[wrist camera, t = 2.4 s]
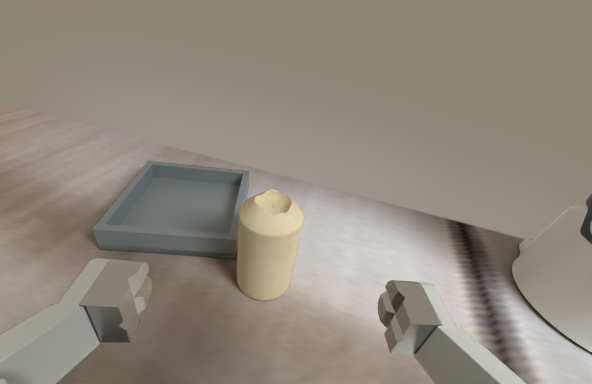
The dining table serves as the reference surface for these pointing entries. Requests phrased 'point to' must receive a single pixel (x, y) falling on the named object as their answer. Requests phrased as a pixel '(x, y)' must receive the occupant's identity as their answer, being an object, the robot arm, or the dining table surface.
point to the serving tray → (176, 212)
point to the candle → (267, 244)
